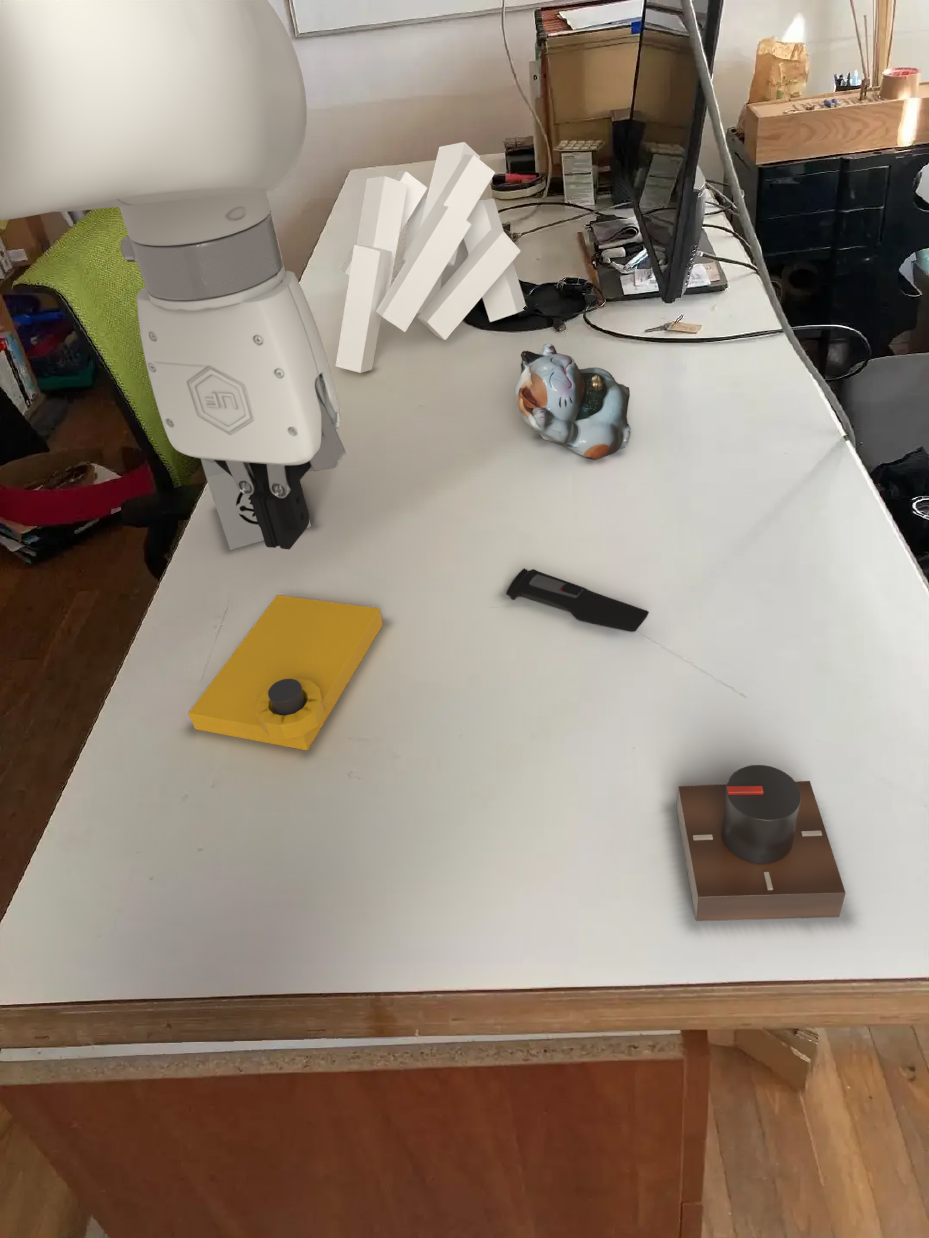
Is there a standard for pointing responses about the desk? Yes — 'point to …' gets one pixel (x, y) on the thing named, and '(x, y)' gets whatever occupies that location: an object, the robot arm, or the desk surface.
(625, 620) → the electric trimmer
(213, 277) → the robot arm
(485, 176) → the pile of blocks
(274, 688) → the black cylindrical knob
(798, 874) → the dial panel
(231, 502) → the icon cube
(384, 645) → the desk surface
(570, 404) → the lucky cat figurine
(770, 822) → the dial knob
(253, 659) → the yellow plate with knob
